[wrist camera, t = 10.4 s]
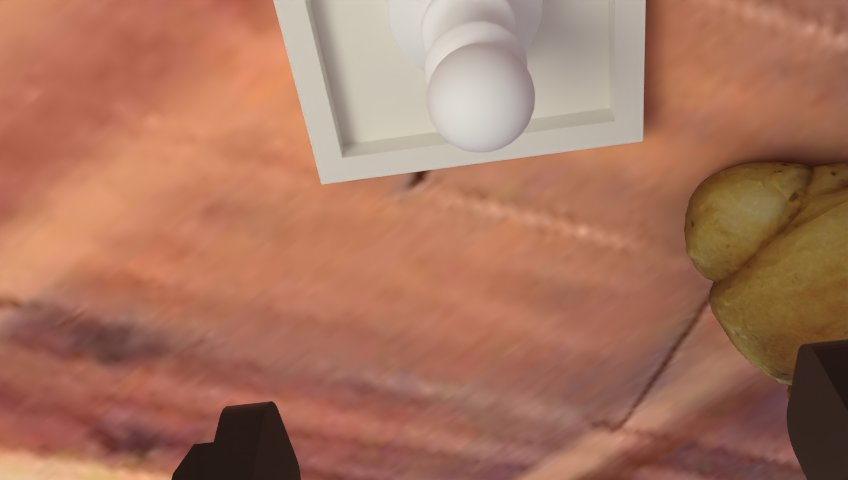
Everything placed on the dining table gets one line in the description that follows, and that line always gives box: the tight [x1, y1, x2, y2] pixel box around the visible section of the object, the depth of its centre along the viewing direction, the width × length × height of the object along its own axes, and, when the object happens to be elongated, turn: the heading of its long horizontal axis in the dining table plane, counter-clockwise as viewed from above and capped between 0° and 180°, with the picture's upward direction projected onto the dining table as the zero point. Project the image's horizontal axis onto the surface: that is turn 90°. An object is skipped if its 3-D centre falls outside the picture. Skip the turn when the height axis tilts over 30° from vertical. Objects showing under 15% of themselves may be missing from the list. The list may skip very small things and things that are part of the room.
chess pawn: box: [387, 0, 543, 153], centre depth 23 cm, size 5×5×9 cm
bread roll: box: [684, 162, 848, 398], centre depth 31 cm, size 13×10×8 cm
